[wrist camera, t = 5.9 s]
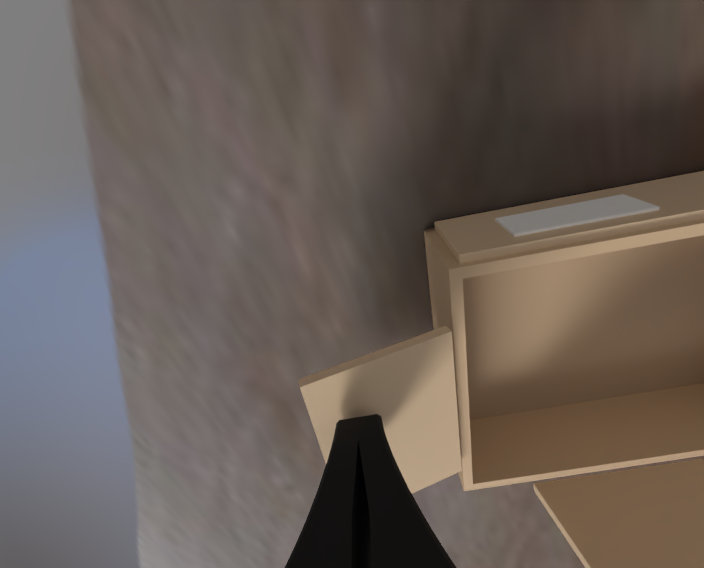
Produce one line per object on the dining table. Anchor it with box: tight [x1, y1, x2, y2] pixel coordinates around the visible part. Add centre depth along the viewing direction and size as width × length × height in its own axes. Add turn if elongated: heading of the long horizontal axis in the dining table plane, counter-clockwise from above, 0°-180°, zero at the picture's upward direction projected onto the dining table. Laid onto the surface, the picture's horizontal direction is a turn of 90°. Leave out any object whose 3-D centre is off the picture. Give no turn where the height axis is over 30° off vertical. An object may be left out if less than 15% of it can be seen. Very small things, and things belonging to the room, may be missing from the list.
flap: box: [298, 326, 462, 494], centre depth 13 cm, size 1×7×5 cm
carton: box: [424, 171, 704, 491], centre depth 15 cm, size 14×11×4 cm
